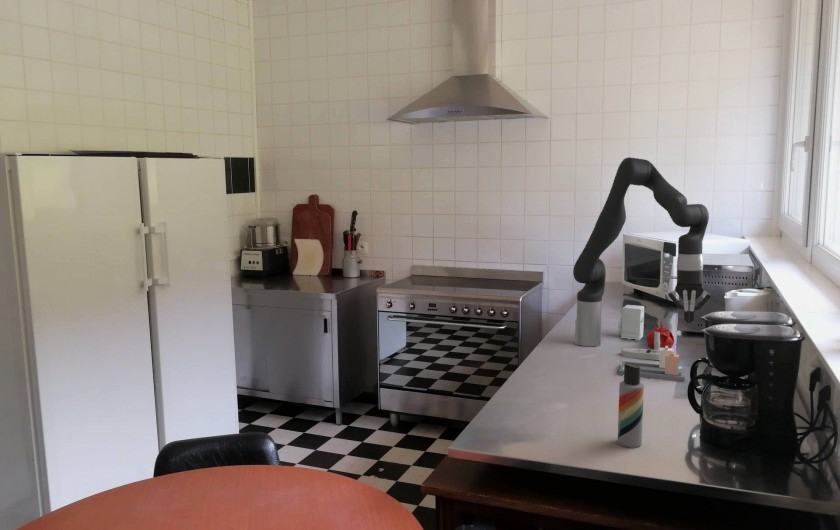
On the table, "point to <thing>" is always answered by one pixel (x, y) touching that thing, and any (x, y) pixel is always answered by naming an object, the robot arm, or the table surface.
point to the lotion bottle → (630, 408)
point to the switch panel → (655, 371)
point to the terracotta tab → (671, 364)
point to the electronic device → (644, 350)
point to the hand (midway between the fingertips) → (688, 322)
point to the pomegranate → (661, 337)
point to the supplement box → (632, 322)
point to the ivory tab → (662, 355)
